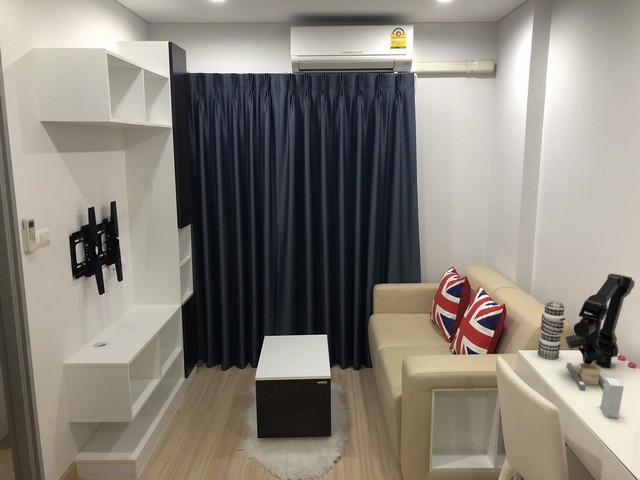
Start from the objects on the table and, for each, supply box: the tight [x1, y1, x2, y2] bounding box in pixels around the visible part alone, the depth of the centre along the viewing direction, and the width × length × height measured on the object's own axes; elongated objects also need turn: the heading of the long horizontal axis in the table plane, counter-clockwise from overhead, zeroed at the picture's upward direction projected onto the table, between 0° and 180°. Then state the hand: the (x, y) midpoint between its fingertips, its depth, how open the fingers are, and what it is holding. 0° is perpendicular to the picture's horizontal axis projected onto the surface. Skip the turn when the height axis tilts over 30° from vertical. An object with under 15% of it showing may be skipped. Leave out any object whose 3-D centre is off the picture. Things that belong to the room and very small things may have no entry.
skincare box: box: [600, 377, 624, 419], centre depth 184 cm, size 6×4×12 cm
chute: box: [566, 362, 605, 392], centre depth 207 cm, size 20×12×3 cm, turn 169°
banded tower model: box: [537, 300, 566, 360], centre depth 225 cm, size 9×9×25 cm
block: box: [577, 362, 601, 385], centre depth 205 cm, size 5×6×6 cm
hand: (585, 368), depth 209 cm, fingers closed
